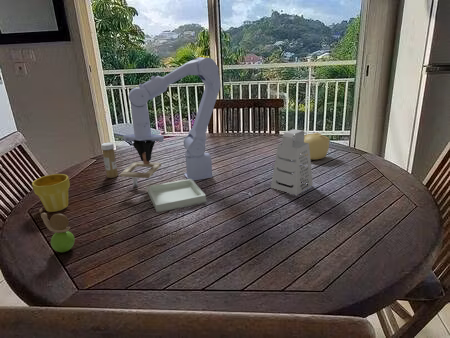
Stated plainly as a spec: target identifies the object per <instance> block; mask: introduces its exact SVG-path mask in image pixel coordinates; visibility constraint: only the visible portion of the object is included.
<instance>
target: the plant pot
mask: <svg viewBox="0 0 450 338" xmlns="http://www.w3.org/2000/svg"><path fill="white" fill-rule="evenodd" d="M31 186H32V189H33V192H34V194H35V195H36V196H38V198H39V199H40V202H41V203H42V206H43V207H44V209H45V211H46V212H49V213H56V212H60V211H63V210H64V209H66V208H68V206H69V189H70V187H71V183H70V178H69V175H67V174H64V173H53V174H47V175H44V176H41V177H39V178H37V179H35V180H33V181H32V182H31Z"/></svg>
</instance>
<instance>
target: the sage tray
mask: <svg viewBox="0 0 450 338" xmlns="http://www.w3.org/2000/svg"><path fill="white" fill-rule="evenodd" d="M146 186H147V185H146ZM146 189H147V191H146V192H147V194H148V197H149V198H150V201H151V203H152V205H153V208H154V209H155V211H156V213H162V212H166V211H171V210H176V209H181V208H186V207H191V206H195V205H200V204H205V203H207V195H206V194H205V192H204V191H203V190H202V189H201V188H200V187H199V185H197V183H196V182H195V181H193V180H192V179H187V178H186V179H181V180H180V179H179V180H176V181H169V182H164V183H158V184H153V185H148V186H147V187H146Z"/></svg>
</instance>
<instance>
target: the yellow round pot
mask: <svg viewBox="0 0 450 338" xmlns="http://www.w3.org/2000/svg"><path fill="white" fill-rule="evenodd" d="M304 143H309V150H310V160H312V161H313V160H320V159H323V158H325V157H326V155H327V154H328V152H329V148H330V137H328V136H325V135H323V134H321V133H319V132H315V133H308V134H304ZM302 154H303V153H302ZM305 156H306V154H305ZM307 156H308V153H307Z"/></svg>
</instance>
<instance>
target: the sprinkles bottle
mask: <svg viewBox="0 0 450 338" xmlns="http://www.w3.org/2000/svg"><path fill="white" fill-rule="evenodd" d="M100 146H101V151H102V156H103V163H104V168H105V173H106V177H107V178H109V179H113V178H116V177H118V176H119V173H118V172H119V171H118V166H117V161H116V155H115V149H114V148H115V146H114V143H113V142H109V141H108V142H104V143H101V145H100Z"/></svg>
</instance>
